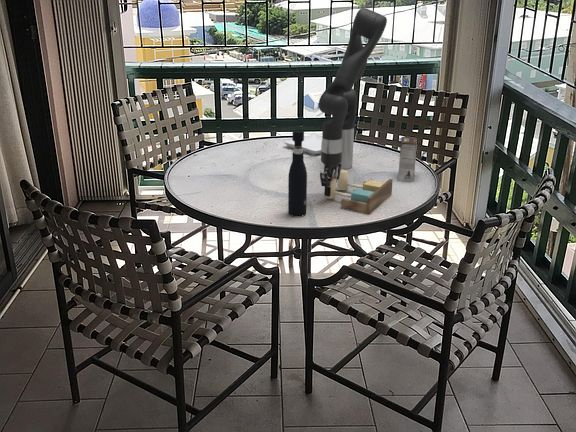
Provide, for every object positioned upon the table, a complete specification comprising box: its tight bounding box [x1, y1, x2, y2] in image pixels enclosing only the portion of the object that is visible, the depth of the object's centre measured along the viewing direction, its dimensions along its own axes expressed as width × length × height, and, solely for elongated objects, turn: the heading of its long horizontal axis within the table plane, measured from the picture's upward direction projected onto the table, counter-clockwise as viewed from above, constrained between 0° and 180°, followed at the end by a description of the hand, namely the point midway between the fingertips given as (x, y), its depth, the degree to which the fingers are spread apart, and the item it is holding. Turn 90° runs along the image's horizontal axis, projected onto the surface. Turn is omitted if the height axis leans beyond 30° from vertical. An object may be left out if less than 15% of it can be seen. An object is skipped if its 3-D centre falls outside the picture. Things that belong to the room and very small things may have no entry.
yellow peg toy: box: [336, 169, 385, 192], centre depth 237 cm, size 18×5×8 cm, turn 61°
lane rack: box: [340, 178, 393, 215], centre depth 231 cm, size 11×22×6 cm, turn 151°
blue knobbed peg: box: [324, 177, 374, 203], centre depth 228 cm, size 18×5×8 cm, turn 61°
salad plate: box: [283, 133, 322, 155], centre depth 292 cm, size 21×21×3 cm
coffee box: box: [397, 136, 418, 182], centre depth 252 cm, size 9×6×16 cm
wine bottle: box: [287, 129, 308, 217], centre depth 215 cm, size 6×6×30 cm
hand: (330, 193), depth 232 cm, fingers closed on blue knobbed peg, 4 cm apart
